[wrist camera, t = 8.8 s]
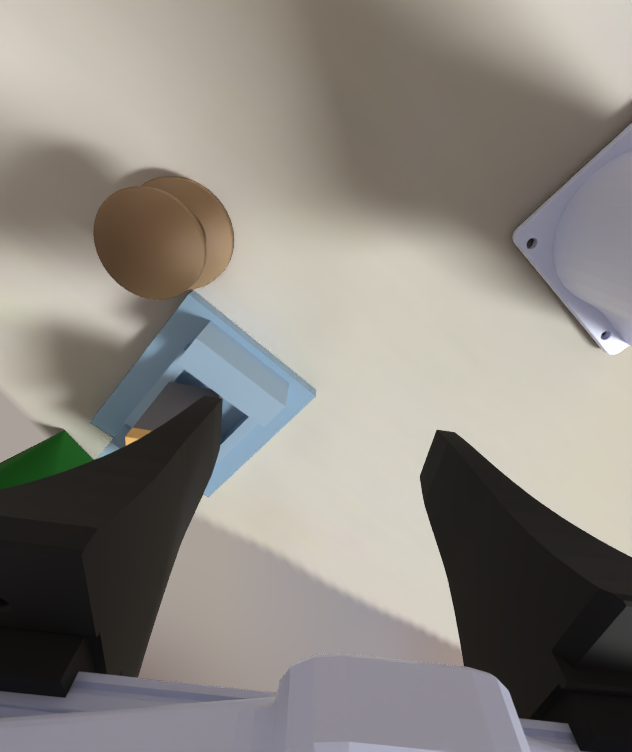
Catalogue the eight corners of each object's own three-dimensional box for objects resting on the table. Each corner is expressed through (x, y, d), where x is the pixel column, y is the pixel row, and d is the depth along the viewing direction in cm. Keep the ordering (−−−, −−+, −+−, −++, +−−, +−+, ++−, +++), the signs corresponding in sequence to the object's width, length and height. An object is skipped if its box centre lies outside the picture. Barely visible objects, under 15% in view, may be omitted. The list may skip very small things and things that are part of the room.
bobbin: (254, 231, 19) (237, 242, 15) (196, 305, 21) (168, 331, 17) (166, 151, 18) (124, 141, 14) (112, 238, 19) (61, 250, 16)
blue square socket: (316, 389, 23) (314, 420, 20) (211, 489, 27) (197, 527, 24) (193, 290, 21) (170, 308, 18) (96, 415, 24) (64, 448, 21)
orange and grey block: (222, 390, 21) (194, 447, 17) (217, 452, 23) (191, 518, 19) (168, 381, 21) (125, 436, 17) (168, 444, 23) (128, 509, 18)
